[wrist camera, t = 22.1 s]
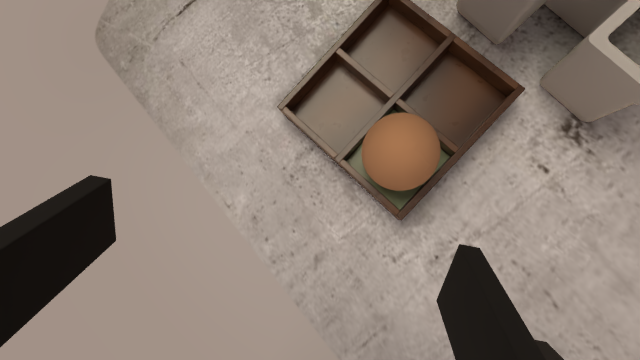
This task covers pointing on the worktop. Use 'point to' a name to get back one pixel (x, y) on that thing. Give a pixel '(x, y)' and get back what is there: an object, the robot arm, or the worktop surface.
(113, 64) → the worktop surface
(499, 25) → the grey compartment organizer
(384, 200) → the compartment tray
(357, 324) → the worktop surface
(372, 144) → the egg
